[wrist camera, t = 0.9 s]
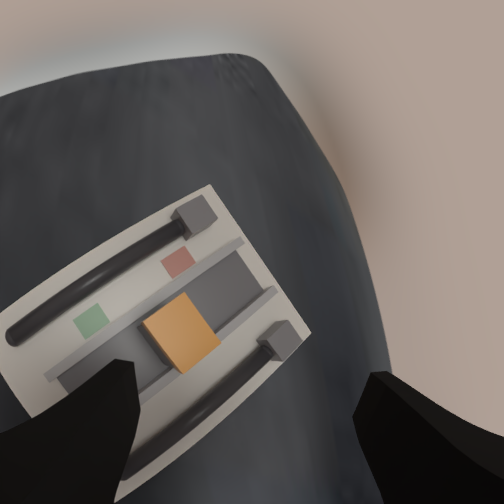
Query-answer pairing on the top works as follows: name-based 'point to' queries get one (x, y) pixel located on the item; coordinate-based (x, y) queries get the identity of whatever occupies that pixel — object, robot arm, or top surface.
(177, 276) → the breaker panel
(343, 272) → the top surface
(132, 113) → the top surface
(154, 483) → the top surface
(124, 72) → the top surface
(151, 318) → the breaker lever
